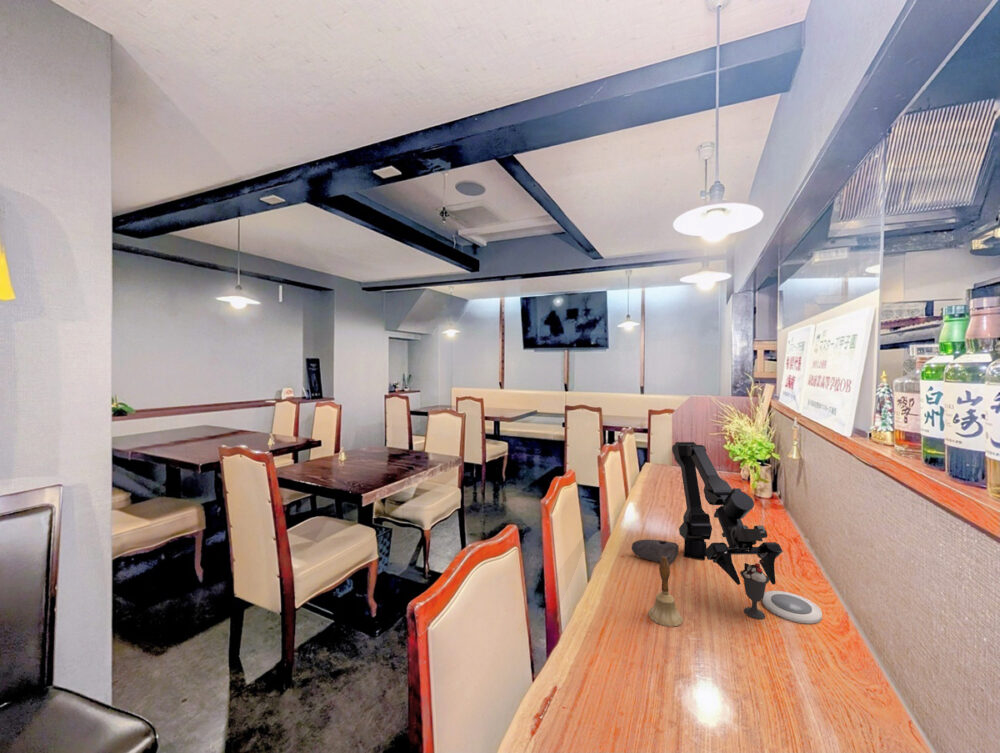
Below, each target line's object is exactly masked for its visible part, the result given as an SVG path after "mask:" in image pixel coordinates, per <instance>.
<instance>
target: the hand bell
mask: <svg viewBox="0 0 1000 753" xmlns="http://www.w3.org/2000/svg"><path fill="white" fill-rule="evenodd" d="M658 568H659V576H660V578H661V592H659V593H657V594H656V596H655V602H654V605H653V606H652V607H650V609H649V610H648V617H649V616H650V617H649V618H650V619H651V620H652V621H653V622H654V623H656V624H657V623H658V624H657V625H660V626H662V625H664V626H663V627H666V626H676V627H678V626H679V627H680V626H681V624H683V621H684V620H683V617H682V615H681V613H680V612H679V611H678V610H677V607H676V600H675V598H674V596H673V595H672V594H670V591H669V590H670V589H669V578H670V576H671V566H670V563H669V562H668V560H667V557H666V556H662V558H661V561H660V562H659V567H658Z"/></svg>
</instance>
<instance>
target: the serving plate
mask: <svg viewBox="0 0 1000 753" xmlns="http://www.w3.org/2000/svg"><path fill="white" fill-rule="evenodd" d="M761 601H762V604H763V606H764V608H765V609H766V610H768V611H769V612H771V613H772V614H774V615H775V616H776V617H777V616H778V617H779V618H781V619H784V620H787V621H791V622H794V623H798V624H806V625H812V624H817V623H820V622H821V621H822V618H823V617H822V616H823V615H822V614H823V612H822V609H821V608H820V607H819V606H818V605H817V604H815V602H814V601H812V600H809V599H808V598H806V597H804V596H801V595H799V594H795V593H792V592H787V591H783V590H769V591H765V593H764V597H763V599H762V600H761Z"/></svg>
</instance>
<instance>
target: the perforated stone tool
mask: <svg viewBox="0 0 1000 753" xmlns="http://www.w3.org/2000/svg"><path fill="white" fill-rule="evenodd" d="M679 548H680V546H679V545H678V544H677V543H676V542H672V541H667V540H663V539H662V540H660V539H638V540H635V541H634V542H632V544H631V550H632V553H633V554H634V555H636V556H637V557H639V558H641V559H644V560H645V559H646V560H648V561H653V562H656V563H660V561H661V558H662V556H666V557H667V560H668V562H669V564H672V563H673V562H675V560H676V559H677V558H678V556H679V552H680V550H679Z"/></svg>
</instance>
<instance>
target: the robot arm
mask: <svg viewBox="0 0 1000 753" xmlns="http://www.w3.org/2000/svg"><path fill="white" fill-rule="evenodd" d="M671 451H672V454H673V456H674V457H673V458H674V461H675V462H676V463H677V464H678V465H679V467H680V470H681V477H682V484H683V485H682V486H683V491H684V497H685V503H686V505H685V506H686V510H685V512H684V514H683V517H682V518H683V522H682V524H681V525H680V526H679V528H678V532H679V535H680V536H681V537H682V538H683V540H684V543H683V544H684V548H683V556H684V557H685V558H686V557H687V558H692V559H697V560H702V561H705V560H706V559H707V560H708V561H712V563H714V564H717V565H718V566H719V567H720V568H721V569H722V570H723V571H724V572H725V573H726V574H727V575H728V576H729V577H730V578H731V579H732V581H733V582H734V583H735V584H736V585H737V586H740V585H741V581H740V577H739V574H738V572H737V570H736V567H735V566H734V563H733V560H732V559H733V558H732V555H735V556H737V555H738V556H739V555H756V556H757V557H758V558H759V562H760V563H761V564H760V563H759V562H758V563H759V564H760V567H762V569H763V571H764V574H765V575H766V576H767V577H769V578H770V580H769V582H770V583H771V584H772V585H775V584H776V572H775V561H776V558H778V557H779V556H780V555H781V554H782V553H784V551H783V549H782V547H781V545H780V544H779V543H777V542H774V541H772V542H770V541H769V542H768V541H766V542H765V541H763V539H766V538H768V532H767V530H766V528H765V527H764V525H754V526H753V528H749V526H747V525H745V524H744V523H743V521H742V519H744V518H745V517H746V516H747V515H748V514H749V513H750V512H751V511H752V509H753V508H754V506H755V501H754V498H752V497H751V496H750V495H749V494H747V493H746V492H743V490H742V489H741V488H740V487H739V488H736V487H735V488H732V487H731V485H730V483H728V482H727V481H726V480H724V479H723V478H722V477H720V475H719V473H718V471H717V469H716V468H715V466H714V464H713V462H712V461H711V459H710V457H709V455H708V453H707V449H706V446H705V445H702V444H697V443H695V442H694V441H676V442H674V444H673V445H672V448H671ZM697 472H698V473H697ZM697 474H699V475H700V478H701V479H702V482H703V484H704V486H703V487H704V488H703V491H702V492H703V494H704V498H705V500H706V502H707V504H709V505H711V506H719V507H718V508H715V512H714V513H713V517H714V518H715V519H717V520H718V522H719V525H720V527H721V529H722V533H721V536H722V538H725V539H726V542H727V543H725V542H711V544H709V546H707V542H706V541H705V540H708V541H710V539H711V536H712V531H713V526H712V524H711V520H710V519H711V518H710V514H708V513H706V512H705V511H704V509H703V507H702V506H703V505H702V500H701V492H700V486H699V480H698V475H697ZM757 542H762V543H761V544H759V545H758V546H754V545H756V544H757ZM761 560H762V561H763V562H764V563H762V562H761Z"/></svg>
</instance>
